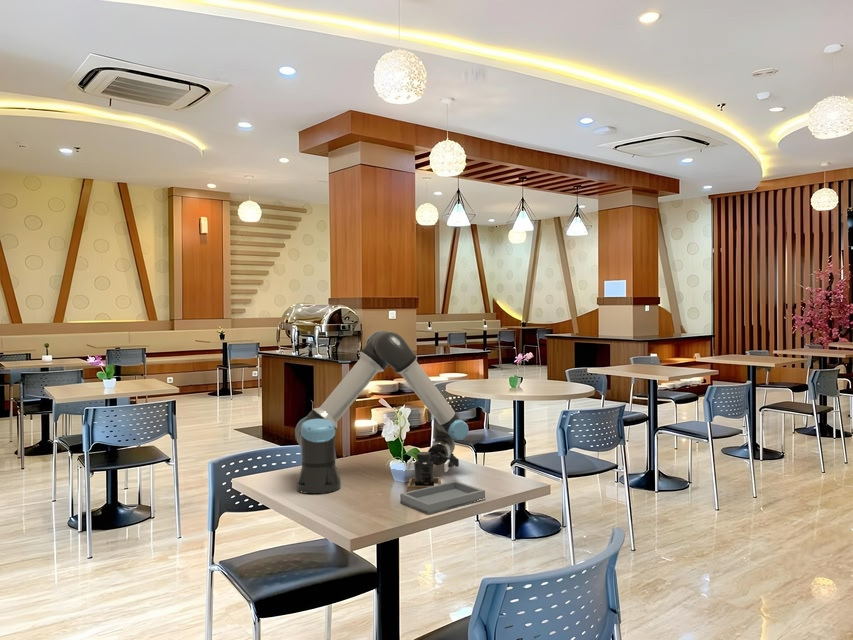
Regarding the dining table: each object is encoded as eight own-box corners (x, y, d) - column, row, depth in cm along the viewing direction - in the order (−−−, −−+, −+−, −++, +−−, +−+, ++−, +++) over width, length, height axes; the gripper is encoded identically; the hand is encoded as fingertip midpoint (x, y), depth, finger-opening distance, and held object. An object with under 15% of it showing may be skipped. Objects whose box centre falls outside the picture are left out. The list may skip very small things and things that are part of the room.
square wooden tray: (410, 482, 222) (410, 477, 222) (440, 482, 221) (440, 477, 221) (407, 491, 211) (407, 486, 211) (439, 491, 210) (439, 486, 210)
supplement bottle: (413, 485, 219) (412, 451, 219) (431, 483, 220) (431, 450, 220) (416, 490, 212) (416, 455, 212) (436, 489, 214) (435, 454, 213)
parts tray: (400, 502, 199) (400, 493, 199) (455, 489, 213) (455, 480, 213) (428, 514, 187) (428, 504, 187) (485, 499, 201) (485, 490, 201)
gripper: (471, 464, 235) (461, 479, 214) (407, 461, 240) (392, 476, 220) (470, 444, 235) (461, 457, 214) (407, 442, 240) (391, 455, 220)
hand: (426, 467), depth 217 cm, fingers open, 13 cm apart
